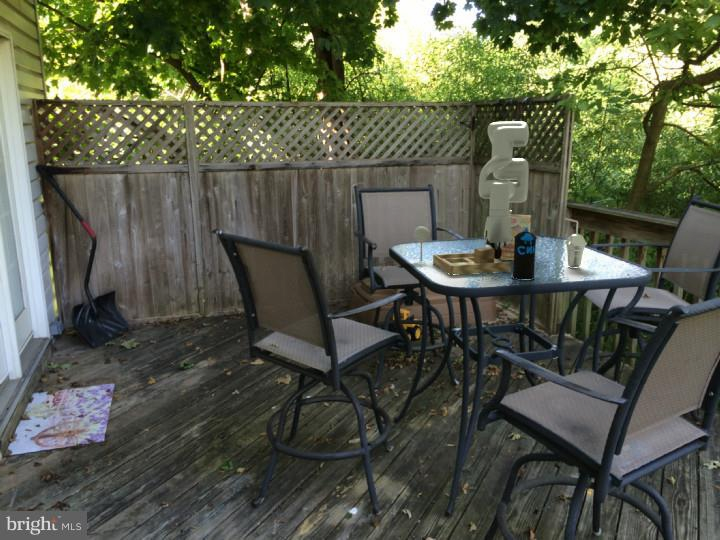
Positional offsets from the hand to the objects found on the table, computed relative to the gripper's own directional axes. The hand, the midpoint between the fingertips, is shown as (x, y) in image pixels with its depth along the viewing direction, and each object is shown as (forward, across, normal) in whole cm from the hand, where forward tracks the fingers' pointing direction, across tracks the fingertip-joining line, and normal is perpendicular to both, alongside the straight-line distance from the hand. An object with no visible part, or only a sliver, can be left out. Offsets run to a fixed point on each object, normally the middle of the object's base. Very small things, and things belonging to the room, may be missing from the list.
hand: (497, 258), depth 235 cm
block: (+2, +6, 0) cm, 6 cm away
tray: (+4, +9, -4) cm, 11 cm away
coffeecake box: (+4, -14, -16) cm, 22 cm away
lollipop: (+4, +24, -25) cm, 35 cm away
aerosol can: (+5, -3, +17) cm, 18 cm away
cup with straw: (+4, -31, +5) cm, 32 cm away
